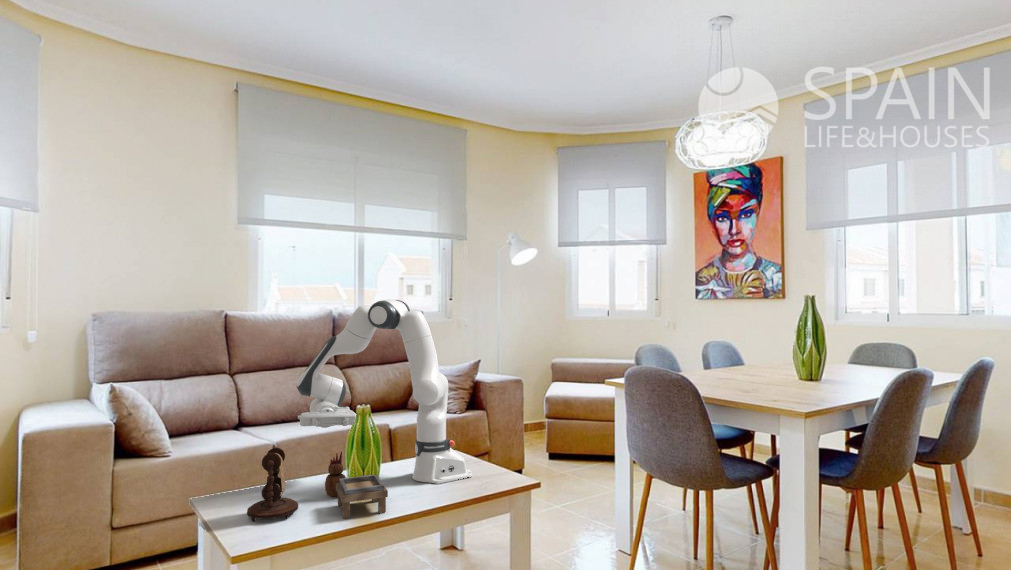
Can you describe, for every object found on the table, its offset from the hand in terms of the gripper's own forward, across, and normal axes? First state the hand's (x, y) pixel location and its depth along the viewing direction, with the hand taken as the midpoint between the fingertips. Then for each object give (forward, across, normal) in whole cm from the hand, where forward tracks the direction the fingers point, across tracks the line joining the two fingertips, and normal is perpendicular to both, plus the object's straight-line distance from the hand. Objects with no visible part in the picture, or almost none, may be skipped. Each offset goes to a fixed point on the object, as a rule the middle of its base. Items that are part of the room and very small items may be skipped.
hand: (331, 424), depth 207 cm
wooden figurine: (+12, +1, +22) cm, 25 cm away
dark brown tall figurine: (+21, -20, +23) cm, 37 cm away
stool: (+29, +6, +20) cm, 36 cm away
